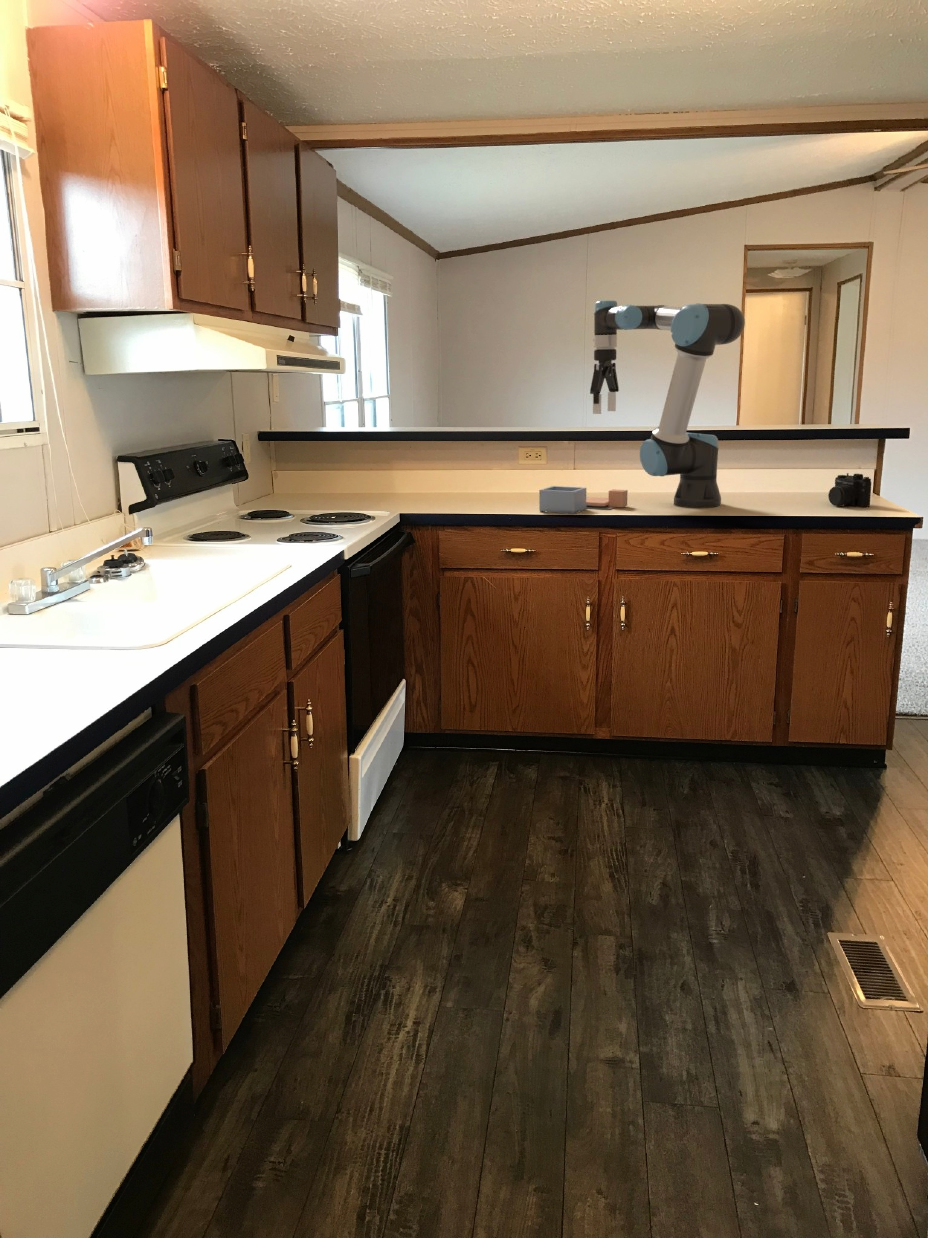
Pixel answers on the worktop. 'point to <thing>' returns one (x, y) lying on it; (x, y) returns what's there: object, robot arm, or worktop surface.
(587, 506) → the mat
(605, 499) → the lid
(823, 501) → the worktop surface
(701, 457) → the robot arm
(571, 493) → the tub
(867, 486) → the camera
